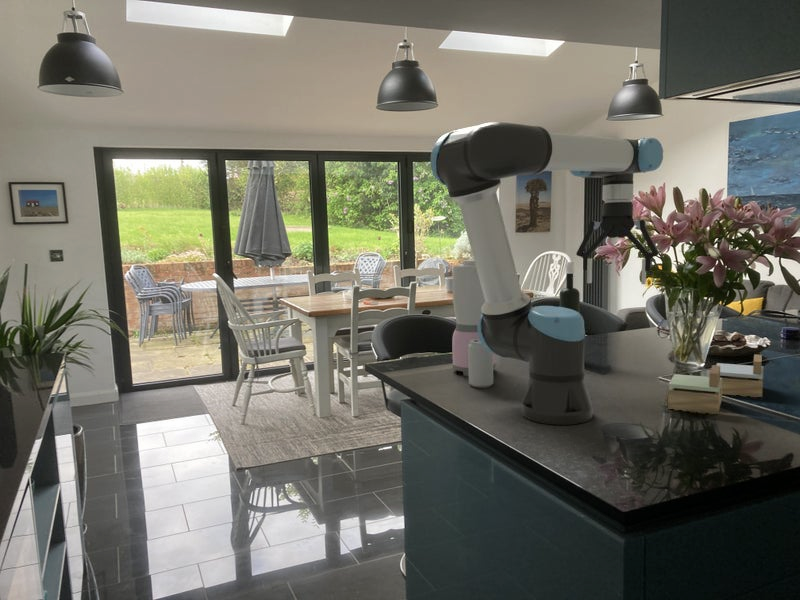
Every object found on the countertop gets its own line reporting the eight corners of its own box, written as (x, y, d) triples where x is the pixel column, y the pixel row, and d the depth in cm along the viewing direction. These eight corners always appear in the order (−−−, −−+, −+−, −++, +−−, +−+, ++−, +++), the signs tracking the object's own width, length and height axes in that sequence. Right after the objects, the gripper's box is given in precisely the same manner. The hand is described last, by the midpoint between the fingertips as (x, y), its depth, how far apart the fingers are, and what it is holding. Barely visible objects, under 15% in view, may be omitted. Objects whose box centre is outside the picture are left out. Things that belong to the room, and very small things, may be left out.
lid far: (762, 379, 144) (763, 362, 144) (714, 374, 149) (714, 359, 149) (763, 369, 153) (763, 354, 152) (717, 366, 158) (717, 351, 157)
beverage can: (474, 381, 170) (474, 337, 168) (497, 383, 167) (496, 339, 165) (464, 386, 164) (464, 341, 163) (487, 389, 161) (487, 343, 160)
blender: (500, 375, 176) (499, 260, 172) (458, 377, 174) (456, 262, 171) (485, 363, 192) (483, 258, 188) (446, 365, 190) (443, 259, 186)
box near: (718, 414, 135) (719, 394, 134) (668, 409, 140) (668, 390, 139) (721, 403, 144) (721, 384, 143) (673, 398, 149) (674, 379, 148)
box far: (762, 400, 145) (762, 381, 144) (713, 395, 150) (714, 377, 149) (762, 389, 153) (763, 372, 153) (716, 385, 158) (717, 368, 158)
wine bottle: (576, 363, 188) (576, 262, 184) (557, 361, 191) (557, 262, 187) (581, 359, 193) (582, 261, 189) (563, 357, 196) (563, 261, 192)
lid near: (719, 392, 134) (719, 374, 134) (668, 387, 139) (668, 370, 139) (722, 381, 143) (722, 365, 142) (674, 377, 148) (674, 361, 147)
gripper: (670, 200, 161) (668, 283, 163) (571, 203, 172) (571, 281, 174) (668, 199, 154) (666, 285, 156) (565, 203, 165) (564, 283, 168)
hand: (616, 283), depth 165 cm, fingers open, 13 cm apart
